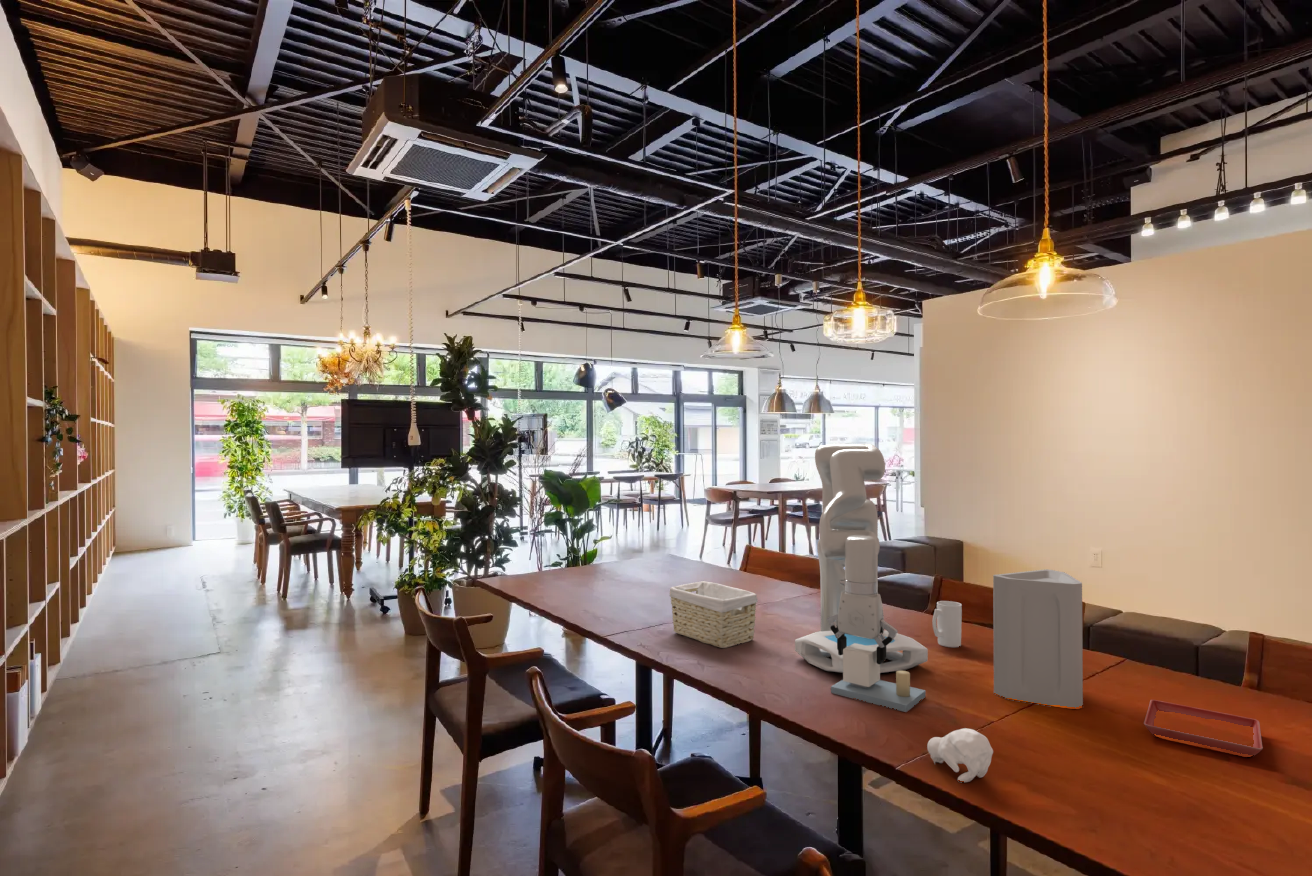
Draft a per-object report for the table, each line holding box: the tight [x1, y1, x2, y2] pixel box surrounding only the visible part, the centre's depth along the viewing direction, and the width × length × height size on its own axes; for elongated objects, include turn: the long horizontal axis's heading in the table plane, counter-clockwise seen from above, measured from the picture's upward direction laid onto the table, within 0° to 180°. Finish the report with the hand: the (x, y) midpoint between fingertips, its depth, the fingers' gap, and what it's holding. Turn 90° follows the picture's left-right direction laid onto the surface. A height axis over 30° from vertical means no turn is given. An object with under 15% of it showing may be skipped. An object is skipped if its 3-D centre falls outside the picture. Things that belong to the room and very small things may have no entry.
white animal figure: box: [926, 727, 994, 783], centre depth 124 cm, size 6×8×12 cm
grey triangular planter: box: [992, 569, 1084, 708], centre depth 159 cm, size 19×15×28 cm
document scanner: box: [794, 630, 929, 674], centre depth 184 cm, size 21×28×6 cm
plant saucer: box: [1143, 699, 1264, 756], centre depth 139 cm, size 18×18×3 cm
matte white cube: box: [842, 643, 881, 687], centre depth 164 cm, size 6×6×8 cm
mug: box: [931, 600, 963, 648], centre depth 201 cm, size 10×7×12 cm, turn 116°
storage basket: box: [669, 580, 759, 649], centre depth 209 cm, size 24×16×15 cm
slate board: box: [830, 670, 927, 713], centre depth 161 cm, size 12×18×6 cm, turn 49°
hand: (861, 658), depth 165 cm, fingers open, 9 cm apart
